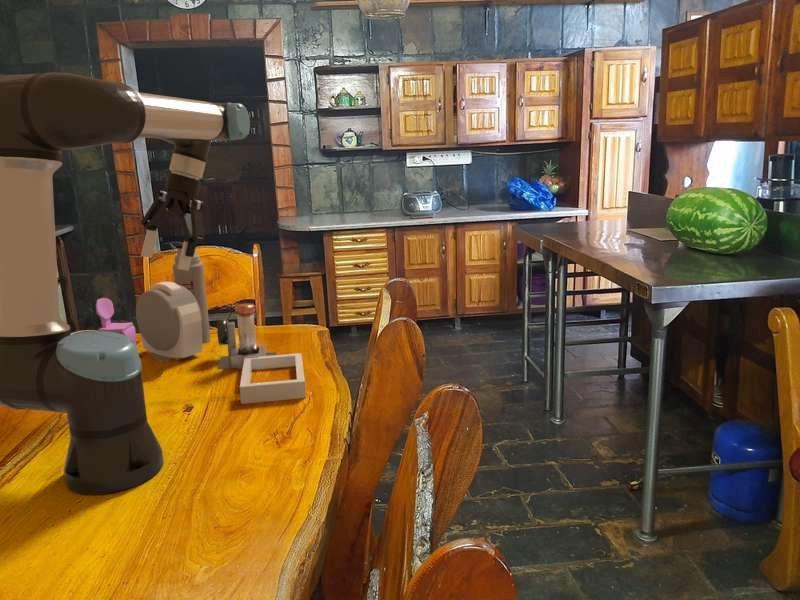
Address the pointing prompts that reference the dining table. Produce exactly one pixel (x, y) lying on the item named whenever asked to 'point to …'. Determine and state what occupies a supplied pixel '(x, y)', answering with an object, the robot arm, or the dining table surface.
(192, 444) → the dining table surface
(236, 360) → the block
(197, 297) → the thermos bottle
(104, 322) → the toy chair
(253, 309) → the pin
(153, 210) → the robot arm
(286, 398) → the tray
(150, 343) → the beige rounded housing
